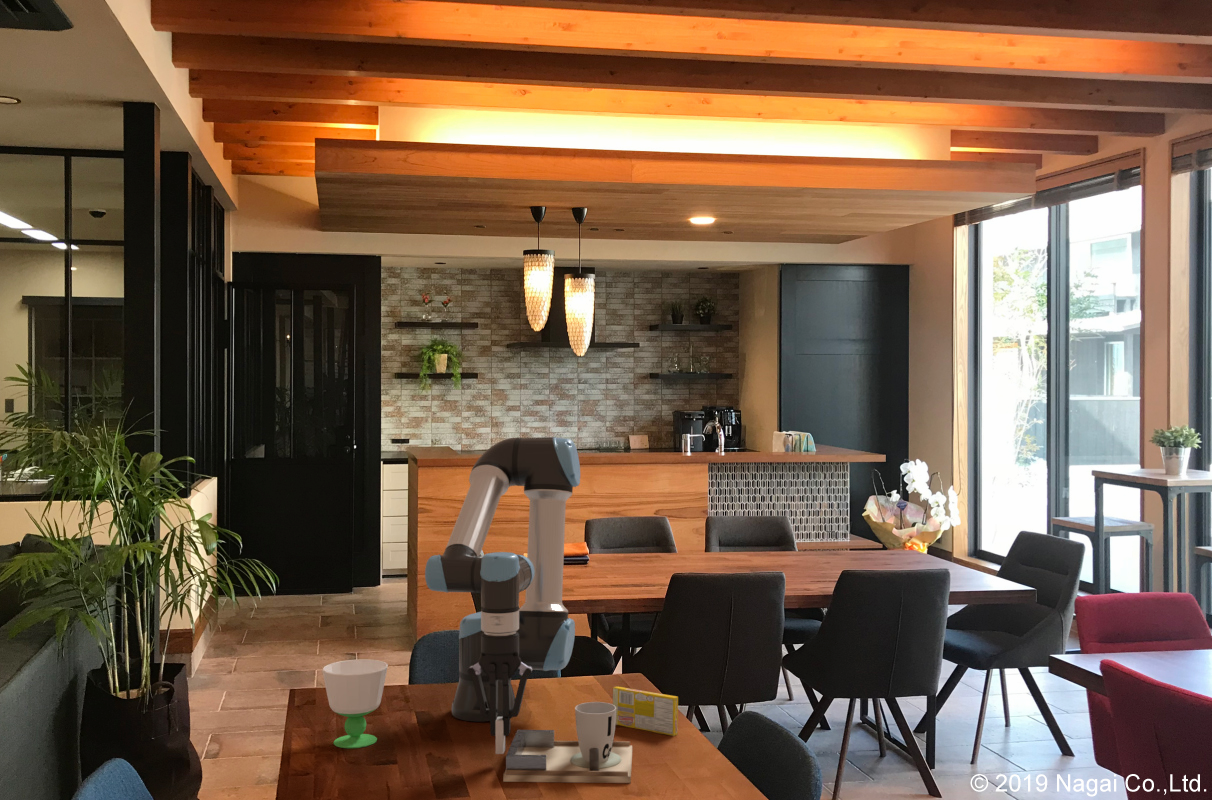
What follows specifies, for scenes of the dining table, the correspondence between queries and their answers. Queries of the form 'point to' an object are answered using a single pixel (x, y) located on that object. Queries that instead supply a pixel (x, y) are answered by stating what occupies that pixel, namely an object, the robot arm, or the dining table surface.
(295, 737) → the dining table surface
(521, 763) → the grey u-shaped bracket
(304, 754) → the dining table surface
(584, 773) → the jig
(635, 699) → the candy box
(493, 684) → the robot arm
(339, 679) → the cup
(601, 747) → the cup
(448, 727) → the dining table surface
